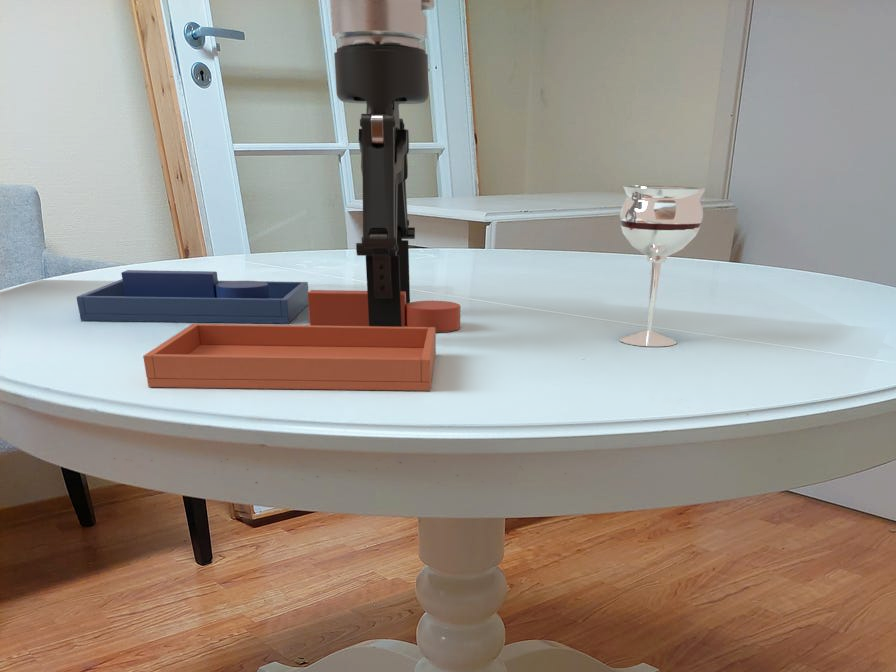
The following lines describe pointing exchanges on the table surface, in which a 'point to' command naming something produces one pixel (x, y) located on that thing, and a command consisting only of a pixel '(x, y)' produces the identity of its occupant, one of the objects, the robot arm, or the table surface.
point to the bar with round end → (354, 312)
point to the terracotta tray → (295, 357)
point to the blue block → (189, 285)
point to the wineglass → (659, 236)
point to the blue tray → (194, 306)
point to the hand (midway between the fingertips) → (391, 324)
